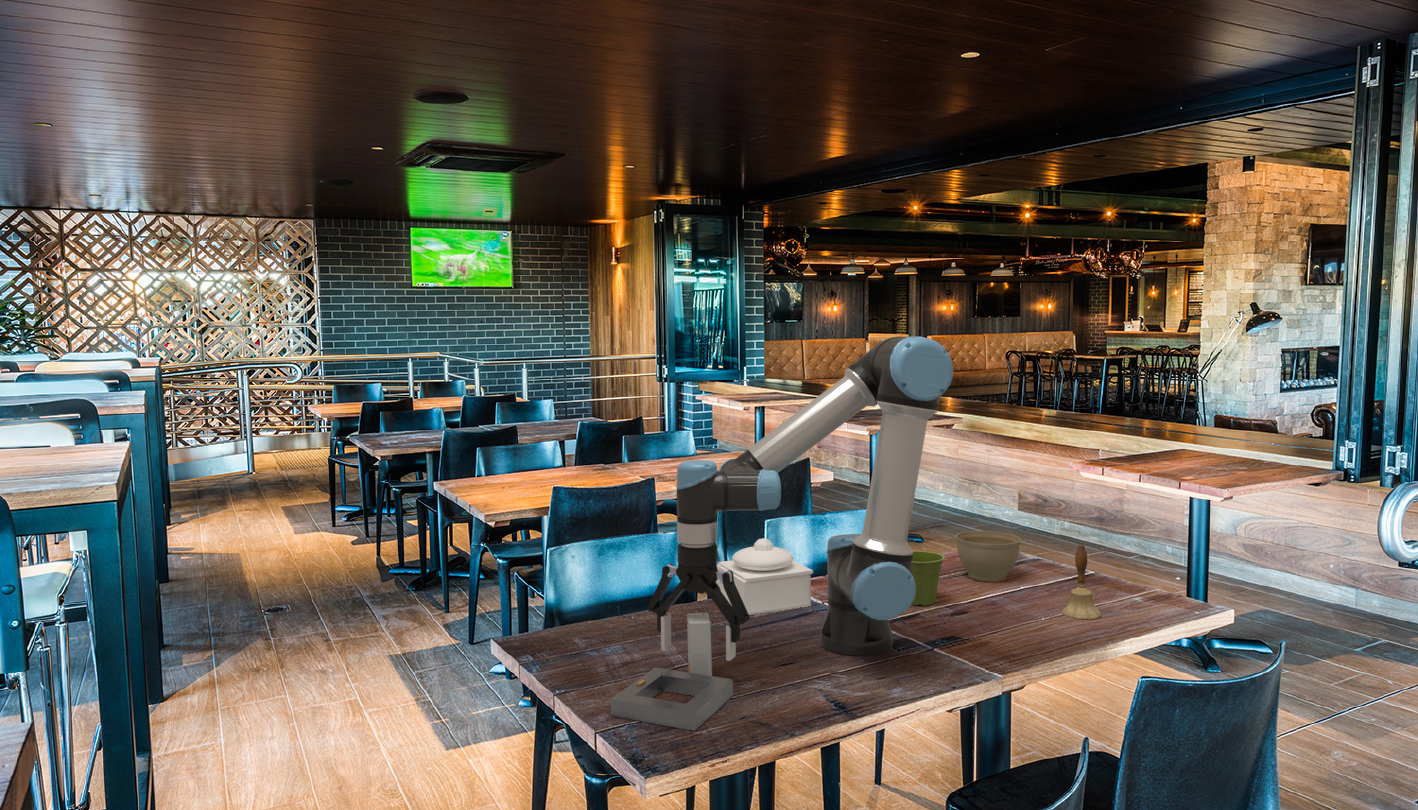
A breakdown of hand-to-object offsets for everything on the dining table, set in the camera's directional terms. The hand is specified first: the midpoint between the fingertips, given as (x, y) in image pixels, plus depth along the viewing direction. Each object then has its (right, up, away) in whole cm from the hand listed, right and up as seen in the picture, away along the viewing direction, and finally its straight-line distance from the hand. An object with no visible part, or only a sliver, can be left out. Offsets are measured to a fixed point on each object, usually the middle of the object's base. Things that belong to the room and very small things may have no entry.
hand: (698, 653), depth 173 cm
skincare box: (0, -5, 0) cm, 5 cm away
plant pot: (+53, -1, +46) cm, 70 cm away
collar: (-4, -6, -12) cm, 14 cm away
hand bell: (+87, -1, +35) cm, 94 cm away
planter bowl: (+75, +2, +67) cm, 101 cm away
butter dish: (+15, -1, +50) cm, 52 cm away
